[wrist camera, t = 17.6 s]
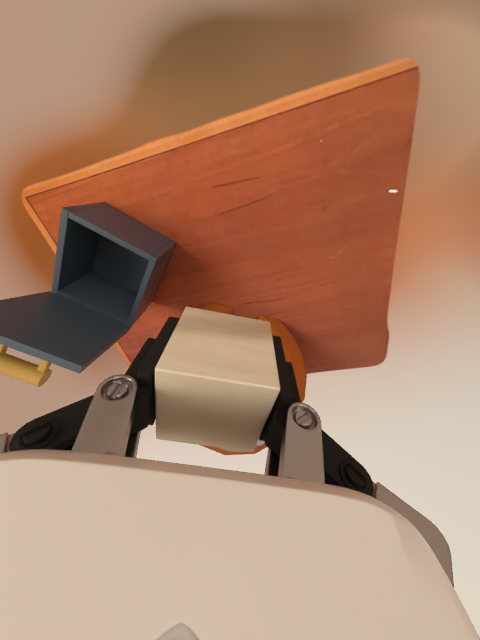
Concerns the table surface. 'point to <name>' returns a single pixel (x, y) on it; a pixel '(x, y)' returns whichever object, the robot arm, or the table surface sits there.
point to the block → (216, 380)
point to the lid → (52, 335)
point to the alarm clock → (291, 355)
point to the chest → (109, 261)
